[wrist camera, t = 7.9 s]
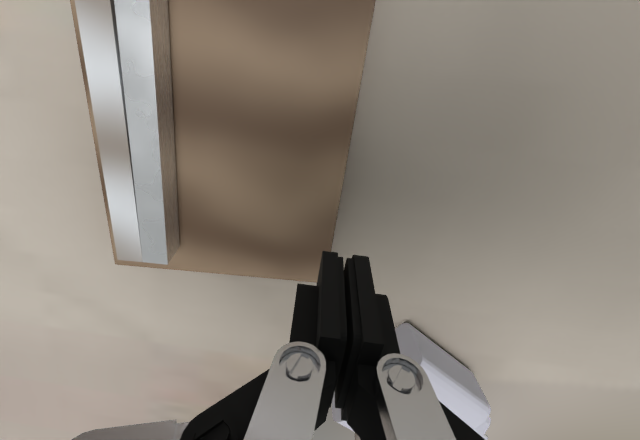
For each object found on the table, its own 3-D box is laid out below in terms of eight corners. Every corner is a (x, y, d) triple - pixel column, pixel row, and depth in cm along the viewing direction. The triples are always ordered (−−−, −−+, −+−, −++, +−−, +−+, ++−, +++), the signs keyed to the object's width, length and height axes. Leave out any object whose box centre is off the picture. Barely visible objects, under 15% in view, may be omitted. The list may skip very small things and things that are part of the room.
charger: (431, 437, 35) (329, 375, 30) (506, 394, 32) (407, 317, 27) (448, 490, 31) (332, 428, 26) (536, 446, 28) (425, 365, 23)
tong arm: (92, -126, 13) (50, -161, 11) (162, -112, 13) (134, -143, 11) (135, 242, 21) (115, 263, 19) (179, 246, 21) (164, 268, 19)
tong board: (57, -208, 13) (-32, -302, 10) (394, -137, 15) (421, -197, 11) (126, 252, 23) (93, 287, 20) (324, 270, 24) (326, 306, 21)
